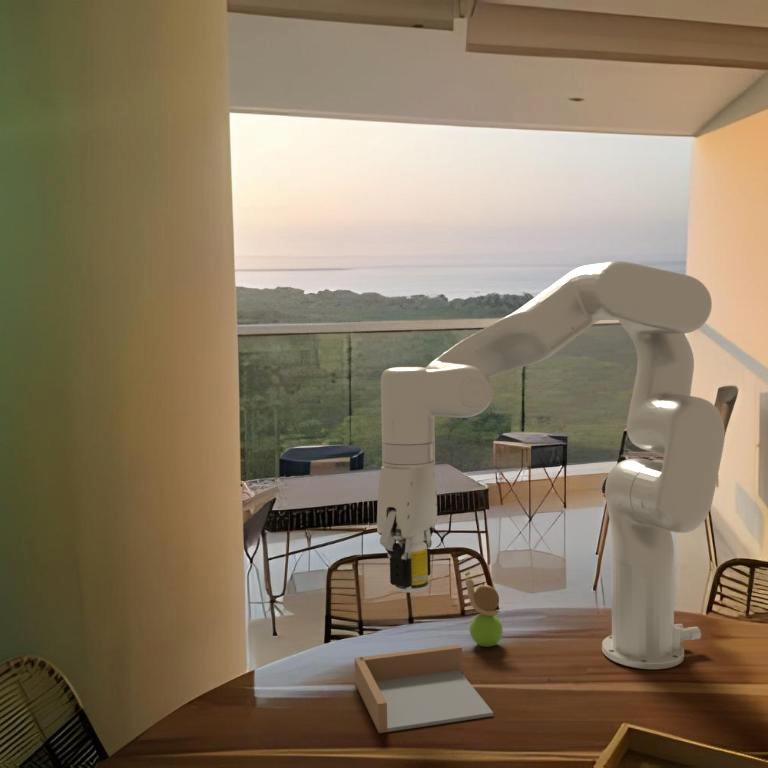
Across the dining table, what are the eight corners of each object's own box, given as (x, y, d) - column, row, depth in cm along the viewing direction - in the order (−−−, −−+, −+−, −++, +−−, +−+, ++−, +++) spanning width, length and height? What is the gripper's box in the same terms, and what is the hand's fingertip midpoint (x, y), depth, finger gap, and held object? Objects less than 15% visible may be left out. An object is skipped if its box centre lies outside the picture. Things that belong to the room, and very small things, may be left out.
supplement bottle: (430, 583, 115) (429, 526, 115) (425, 594, 111) (424, 535, 110) (398, 581, 116) (396, 525, 116) (391, 592, 112) (390, 534, 111)
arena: (459, 669, 124) (459, 644, 123) (496, 715, 109) (496, 687, 109) (355, 683, 120) (354, 657, 119) (378, 733, 105) (378, 704, 105)
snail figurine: (474, 635, 137) (473, 567, 136) (508, 643, 133) (507, 573, 132) (459, 646, 132) (457, 576, 132) (493, 654, 129) (492, 582, 128)
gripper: (414, 444, 121) (416, 560, 123) (353, 461, 107) (356, 593, 108) (458, 447, 117) (460, 567, 119) (401, 465, 103) (404, 602, 104)
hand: (410, 578), depth 113 cm, fingers closed on supplement bottle, 4 cm apart
